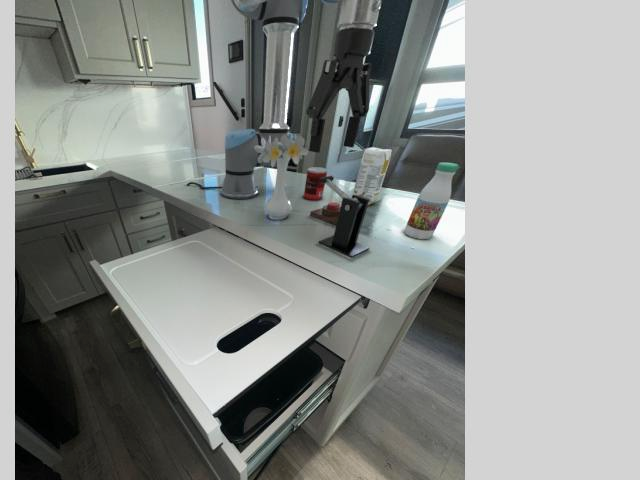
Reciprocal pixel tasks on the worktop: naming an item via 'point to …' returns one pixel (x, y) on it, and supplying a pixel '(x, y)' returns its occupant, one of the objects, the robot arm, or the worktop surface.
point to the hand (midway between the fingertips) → (332, 149)
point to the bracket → (348, 228)
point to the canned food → (314, 183)
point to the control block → (326, 215)
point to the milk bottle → (431, 203)
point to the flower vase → (280, 170)
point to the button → (333, 206)
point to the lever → (336, 188)
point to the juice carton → (372, 173)
